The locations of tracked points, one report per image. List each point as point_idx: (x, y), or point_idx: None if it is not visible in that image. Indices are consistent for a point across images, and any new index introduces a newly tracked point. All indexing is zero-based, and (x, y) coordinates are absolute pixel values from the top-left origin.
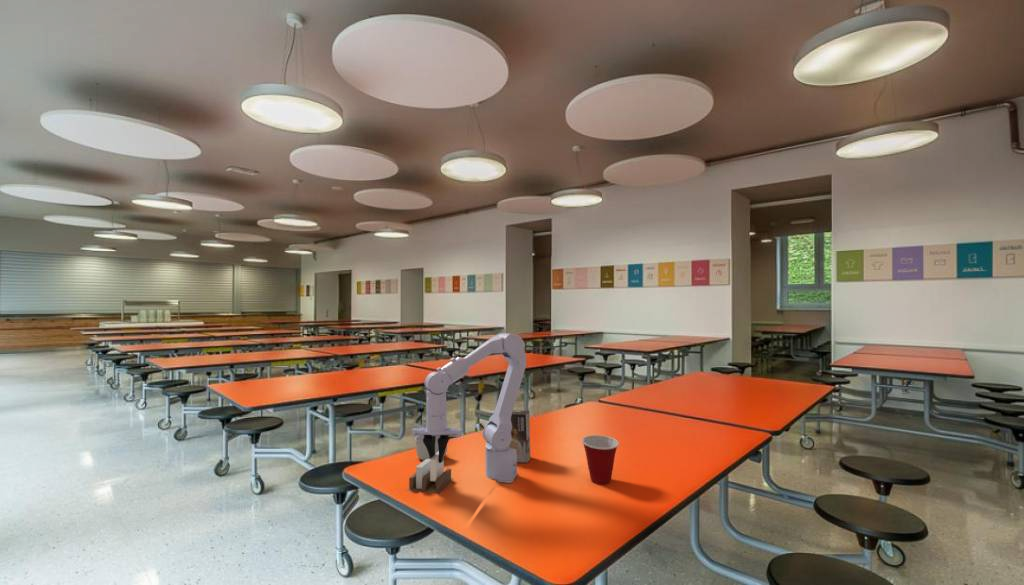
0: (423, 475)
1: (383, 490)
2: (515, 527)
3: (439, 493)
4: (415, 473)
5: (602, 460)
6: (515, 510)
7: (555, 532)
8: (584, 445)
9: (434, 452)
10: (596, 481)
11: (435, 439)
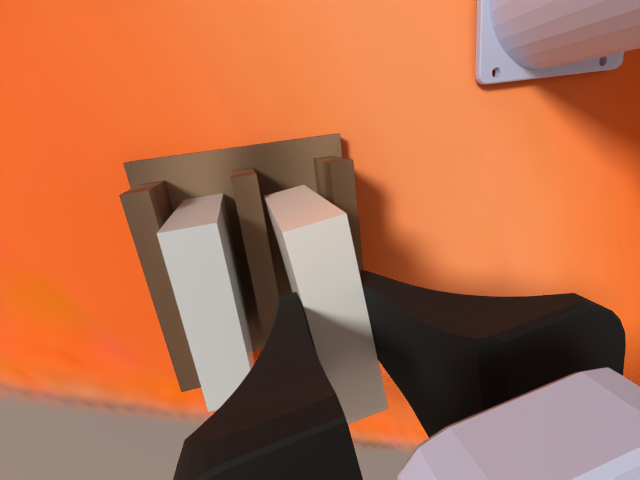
0: (249, 337)
1: (33, 382)
2: (631, 376)
3: None
4: (166, 325)
5: None
6: (629, 295)
7: None
8: None
9: (309, 333)
10: None
11: (327, 378)
